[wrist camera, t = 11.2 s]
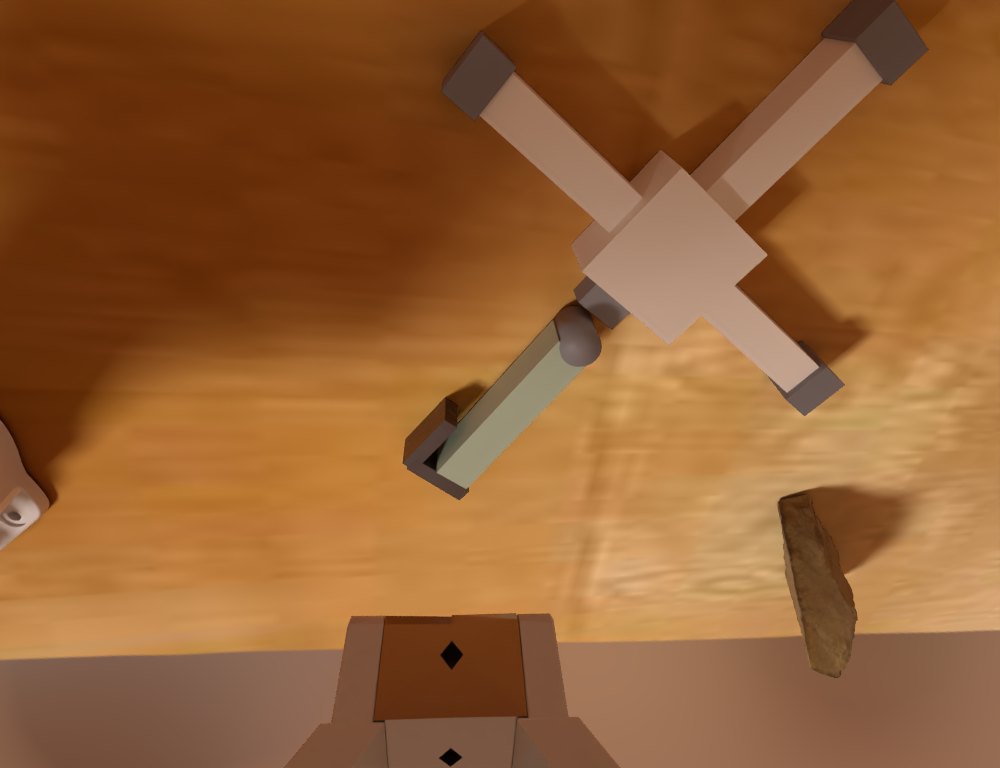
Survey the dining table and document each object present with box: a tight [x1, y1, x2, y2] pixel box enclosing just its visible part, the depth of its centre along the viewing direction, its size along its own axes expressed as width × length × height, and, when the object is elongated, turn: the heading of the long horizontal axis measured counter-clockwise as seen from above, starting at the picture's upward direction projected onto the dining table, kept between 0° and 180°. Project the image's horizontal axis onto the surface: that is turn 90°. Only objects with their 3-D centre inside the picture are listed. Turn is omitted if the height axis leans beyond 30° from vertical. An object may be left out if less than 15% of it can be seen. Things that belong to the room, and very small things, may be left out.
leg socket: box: [403, 397, 469, 500], centre depth 43 cm, size 5×5×3 cm
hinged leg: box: [437, 306, 602, 489], centre depth 41 cm, size 14×2×3 cm, turn 141°
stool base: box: [441, 0, 929, 416], centre depth 34 cm, size 20×29×4 cm
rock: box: [778, 495, 858, 678], centre depth 49 cm, size 11×9×10 cm
